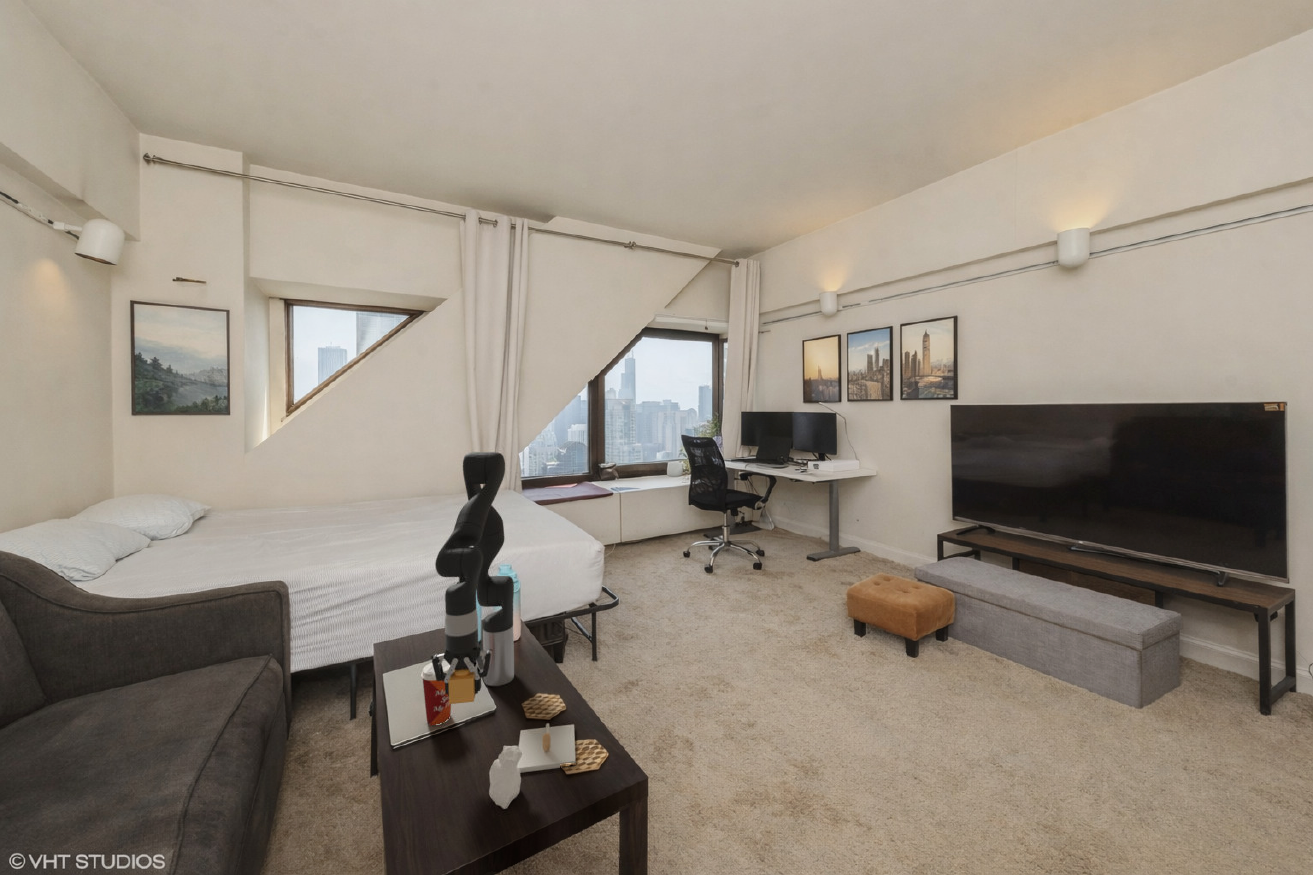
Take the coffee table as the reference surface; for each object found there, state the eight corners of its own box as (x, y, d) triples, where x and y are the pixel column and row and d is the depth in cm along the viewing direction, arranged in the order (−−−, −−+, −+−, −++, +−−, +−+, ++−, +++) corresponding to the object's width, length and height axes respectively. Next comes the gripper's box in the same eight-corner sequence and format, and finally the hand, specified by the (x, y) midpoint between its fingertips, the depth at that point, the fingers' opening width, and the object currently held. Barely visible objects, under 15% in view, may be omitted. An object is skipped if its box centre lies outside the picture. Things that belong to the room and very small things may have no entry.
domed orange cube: (454, 690, 125) (453, 663, 125) (477, 688, 126) (476, 661, 126) (449, 704, 120) (448, 675, 119) (473, 701, 121) (472, 673, 120)
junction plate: (521, 733, 133) (520, 712, 133) (574, 726, 136) (573, 707, 135) (516, 773, 119) (515, 750, 118) (575, 765, 121) (575, 743, 121)
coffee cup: (442, 730, 134) (441, 676, 133) (415, 726, 136) (414, 673, 135) (461, 711, 142) (459, 660, 141) (435, 707, 144) (433, 657, 143)
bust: (515, 820, 108) (545, 768, 111) (487, 813, 104) (519, 759, 108) (498, 785, 118) (525, 738, 121) (471, 778, 114) (501, 729, 117)
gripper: (494, 618, 127) (495, 681, 128) (434, 623, 124) (436, 687, 126) (490, 632, 119) (491, 699, 121) (426, 637, 117) (428, 705, 118)
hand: (463, 693), depth 123 cm, fingers closed on domed orange cube, 5 cm apart
